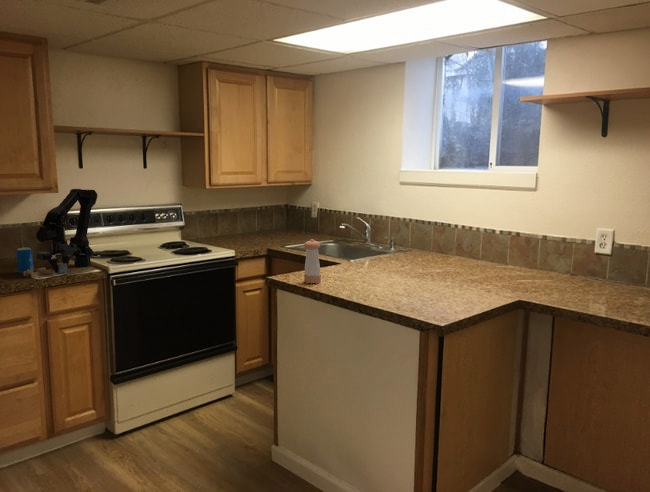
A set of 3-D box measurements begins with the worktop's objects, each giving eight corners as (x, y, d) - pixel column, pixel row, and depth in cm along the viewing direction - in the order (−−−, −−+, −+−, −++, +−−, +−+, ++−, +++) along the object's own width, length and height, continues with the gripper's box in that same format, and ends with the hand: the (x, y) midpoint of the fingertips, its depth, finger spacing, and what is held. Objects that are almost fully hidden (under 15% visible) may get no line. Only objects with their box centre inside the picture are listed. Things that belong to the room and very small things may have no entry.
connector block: (62, 270, 260) (61, 262, 259) (67, 271, 257) (66, 263, 257) (54, 272, 256) (53, 263, 256) (59, 273, 254) (58, 264, 253)
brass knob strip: (29, 275, 253) (28, 268, 253) (35, 276, 251) (34, 270, 250) (25, 276, 252) (24, 269, 251) (31, 277, 249) (30, 270, 249)
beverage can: (27, 275, 257) (24, 250, 255) (15, 274, 258) (12, 249, 256) (37, 272, 263) (34, 247, 261) (25, 271, 265) (22, 247, 263)
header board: (52, 271, 265) (51, 265, 264) (68, 275, 258) (68, 268, 257) (23, 277, 253) (22, 271, 252) (39, 281, 246) (38, 274, 245)
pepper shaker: (310, 285, 239) (309, 241, 235) (300, 281, 245) (300, 238, 241) (323, 282, 243) (323, 239, 240) (314, 279, 249) (314, 237, 245)
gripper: (48, 243, 242) (51, 277, 245) (87, 237, 257) (89, 269, 260) (34, 240, 248) (37, 274, 251) (72, 234, 263) (75, 267, 266)
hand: (61, 271), depth 257 cm, fingers closed on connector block, 4 cm apart
